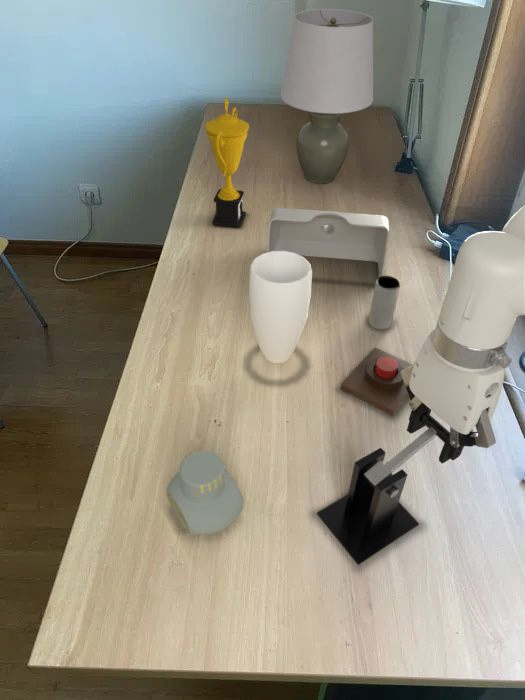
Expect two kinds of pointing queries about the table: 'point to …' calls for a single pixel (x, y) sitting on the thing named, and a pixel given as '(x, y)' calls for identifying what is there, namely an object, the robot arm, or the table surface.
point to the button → (386, 367)
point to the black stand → (369, 512)
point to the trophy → (228, 165)
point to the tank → (330, 234)
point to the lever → (407, 451)
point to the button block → (377, 383)
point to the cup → (279, 302)
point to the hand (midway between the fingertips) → (432, 441)
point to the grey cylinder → (384, 302)
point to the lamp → (327, 83)
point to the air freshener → (204, 494)
